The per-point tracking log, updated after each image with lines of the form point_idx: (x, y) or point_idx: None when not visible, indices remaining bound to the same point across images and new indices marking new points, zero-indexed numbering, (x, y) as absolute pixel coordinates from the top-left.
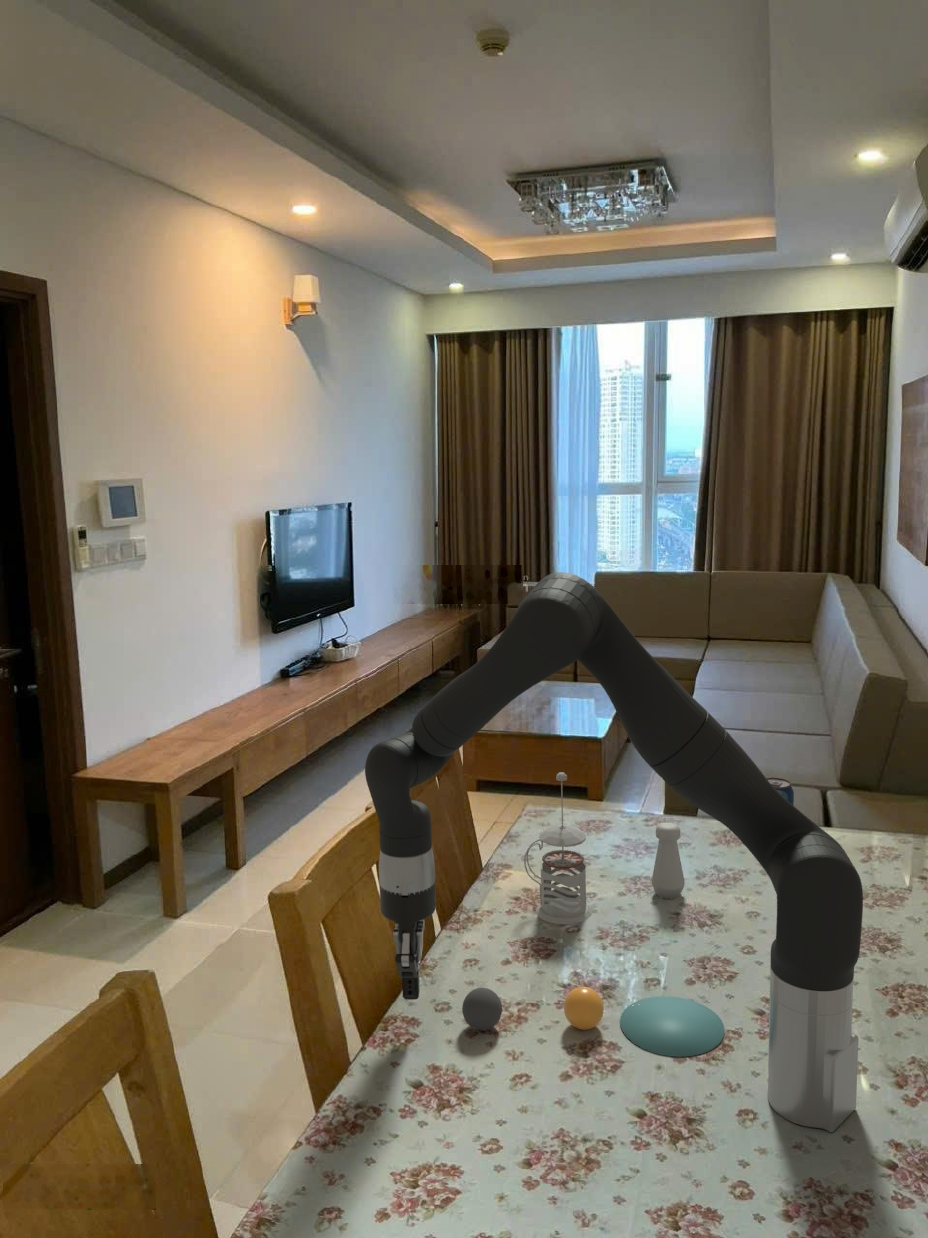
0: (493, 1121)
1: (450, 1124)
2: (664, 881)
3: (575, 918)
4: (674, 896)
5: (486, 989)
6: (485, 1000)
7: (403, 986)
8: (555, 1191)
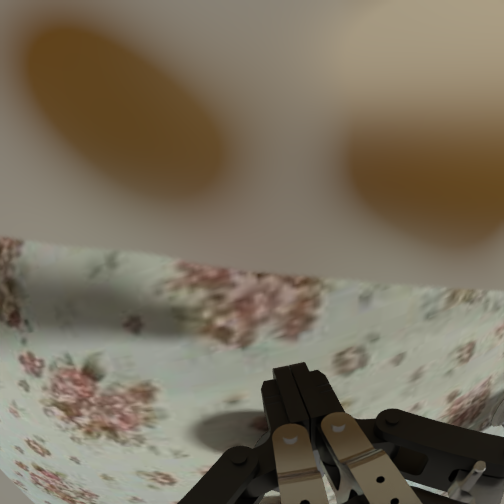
0: (72, 454)
1: (41, 416)
2: None
3: (496, 422)
4: None
5: None
6: (275, 490)
7: (281, 395)
8: (27, 477)
